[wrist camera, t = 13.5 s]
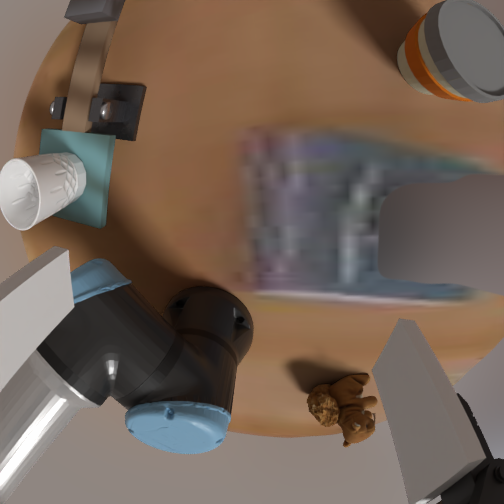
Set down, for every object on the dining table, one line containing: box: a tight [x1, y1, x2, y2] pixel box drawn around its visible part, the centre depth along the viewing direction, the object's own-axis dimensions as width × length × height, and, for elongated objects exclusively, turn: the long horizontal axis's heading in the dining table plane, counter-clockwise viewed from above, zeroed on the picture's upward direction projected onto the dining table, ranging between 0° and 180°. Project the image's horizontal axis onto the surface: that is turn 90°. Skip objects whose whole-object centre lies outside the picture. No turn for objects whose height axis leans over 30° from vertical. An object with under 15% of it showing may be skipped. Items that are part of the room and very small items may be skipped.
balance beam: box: [39, 0, 125, 229], centre depth 28 cm, size 33×12×6 cm, turn 166°
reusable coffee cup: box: [397, 0, 504, 103], centre depth 24 cm, size 12×12×15 cm
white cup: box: [0, 152, 86, 230], centre depth 28 cm, size 8×8×10 cm
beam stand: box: [50, 84, 147, 141], centre depth 33 cm, size 8×12×8 cm, turn 77°
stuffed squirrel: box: [307, 375, 377, 447], centre depth 47 cm, size 10×14×13 cm
